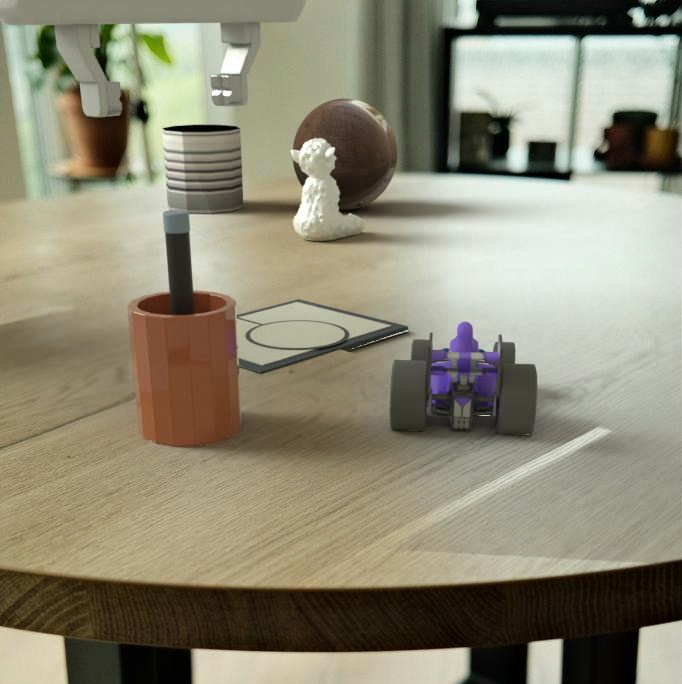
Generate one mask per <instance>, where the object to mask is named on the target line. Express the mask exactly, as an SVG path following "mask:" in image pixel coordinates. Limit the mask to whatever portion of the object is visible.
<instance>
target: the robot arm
mask: <svg viewBox="0 0 682 684" xmlns="http://www.w3.org/2000/svg"><path fill="white" fill-rule="evenodd" d="M306 3H307V0H0V21H1V23H3V24H4V25H7V26H54V35H55V44H56V49H57V51H58V53H59V54H60V56H61V57H62V59H63V61H64V62H65V64H66V65H67V67H68V69H69V71H70V72H71V74H72V75H73V77H74V78H75V80H76V81H77V82H79V90H80V99H81V107H82V111H83V114H84V115H85V116H86V117H91V118H106V117H107V118H108V117H114V116H115V117H116V116H120V115H122V111H123V103H122V101H121V100H120V98H121V96H122V89H121V82H120V81H113V80H112V81H111V80H110V81H109V80H108V79H107V77H106V75H105V73H104V71H103V69H102V67H101V65H100V63H99V61H98V59H97V57H96V56H95V53H94V52H93V50H92V49H99V48H100V47H101V38H100V28H99V27H100V26H99V25H138V24H139V25H143V24H146V25H148V24H149V25H150V24H152V25H155V24H159V25H160V24H220V25H219V27H220V41H221V43H222V44H228V45H227V48H226V51H225V54H224V55H225V56H224V59H223V63H222V65H221V69H220V72H219V73H217V74H216V73H215V74H210V87H211V89H212V92H211V101H212V103H213V105H215V106H216V107H239V106H246V104H248V100H249V91H248V75H249V74H250V72H251V69H252V67H253V65H254V63H255V59H256V57H257V54H258V51H259V49H260V47H261V43H262V42H261V41H262V40H261V38H262V37H261V24H263V23H265V24H267V23H268V24H269V23H270V24H271V23H296V22H297V21H298V20H299V18H300V16H301V14H302V12H303V10H304V8H305V6H306Z"/></svg>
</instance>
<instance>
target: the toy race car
mask: <svg viewBox="0 0 682 684" xmlns="http://www.w3.org/2000/svg"><path fill="white" fill-rule="evenodd" d="M433 337H434V333H433V332H429V339H423V338H421V339H420V338H419V339H418V338H414V339H413V340H412V342H411V350H410V359H394V361H393V363H392V367H391V375H390V389H389V426H390V430H392V431H404V430H418V431H417V432H424V431H425V430H426V427H427V418H428V416H427V415H429V416H430V415H434V414H447V415H446V416H448V419H449V422H450V426H451V430H462V431H463V430H465V431H470V430H471V429H472V425H473V420H474V418H476V417H479V416H478V415H491V416H492V418H495V430H496V429H497V430H496V433H497V432H498V433H500V434H499V435H504V434H531V435H533V432H534V429H535V423H536V415H537V404H538V403H537V402H538V372H537V371H538V370H537V367H536V365H535V364H534V363H516V344H515V342H514V341H503V336H502V334H498V337H497V341H495V342H494V344H493V349H492V351H488V350H487V351H486V350H484V349H482V348H480V347H479V345H480V344H479V341H478V340H477V339H476V338H474V328H473V325H472V323H471V322H469V321H461V322H460V323H459V324H458V325H457V329H456V336H455V337H454V338H452V339H451V340H450V341H449V348H448V347H444V348H442V349H433V348H434V345H433V339H434V338H433ZM431 413H432V414H431ZM424 429H425V430H424ZM498 433H497V434H498Z"/></svg>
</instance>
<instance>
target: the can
mask: <svg viewBox="0 0 682 684" xmlns="http://www.w3.org/2000/svg"><path fill="white" fill-rule="evenodd" d="M161 129H162V131H161V133H162V143H163V159H164V170H165V173H164V174H165V183H166V184H165V186H166V197H167V198H166V199H167V207H169V208H170V209H169V208H168V209H169V210H185V211H188V212H189V214H201V215H202V213H203V215H204V214H207V215H209V214H220V213H229V212H235V211H238V210H240V209H243V208H244V189H243V188H244V186H243V163H242V162H243V161H242V160H243V159H242V139H241V128H240V127H238V126H236V125H229V124H192V123H189V124H180V125H172V126H171V125H170V126H166V127H162V128H161Z"/></svg>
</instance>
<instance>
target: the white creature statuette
mask: <svg viewBox="0 0 682 684" xmlns="http://www.w3.org/2000/svg"><path fill="white" fill-rule="evenodd" d="M334 151H335V148H334V147H331V145H330V144H329V143H327V141H326V140H325V139H322V138H319V139H317V138H314V139H312V140H309V141H308V142H305V143H304V144H303V147H302V148H301V150H300V151H298V150H293V149H290V153H291V156H292V161H293V160H294V161H295V162H297V163H299V166H300V167H301V169H302V171H303V172H305V173H306V174H307V175H308V176H310V177H308V178H307V179H306V182H305V185H304V186H303V187H302V189H301V191H302V192H301V195H300V196H301V198H300V202H301V203H300V204H299V208H298V211H297V212H296V214H295V216H293V220H292V225H293V229H294V232H295V233H297V235H299V236H300V237H301V238H302V239H303V240H304V241H305V240H306V241H315V242H324V241H326V242H328V241H333V240H334V241H336V240H338V239H342V238H346V237H351V236H356V235H360V234H361V232H363V231H364V230H365V227H366V221H365V219H364V218H361V217H359V216H358V215H356V214H353V213H348V214H346V215H345V214H343V213H341V212H340V209H339V207H338V202H339V200H340V198H339V195H340V191H339V189H338V186H337V185H336V180H335V179H333V177H331V175H330V173H331V171H332V170H333V169H334V168H335V160H336V159H337V158H336V156H334Z"/></svg>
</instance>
